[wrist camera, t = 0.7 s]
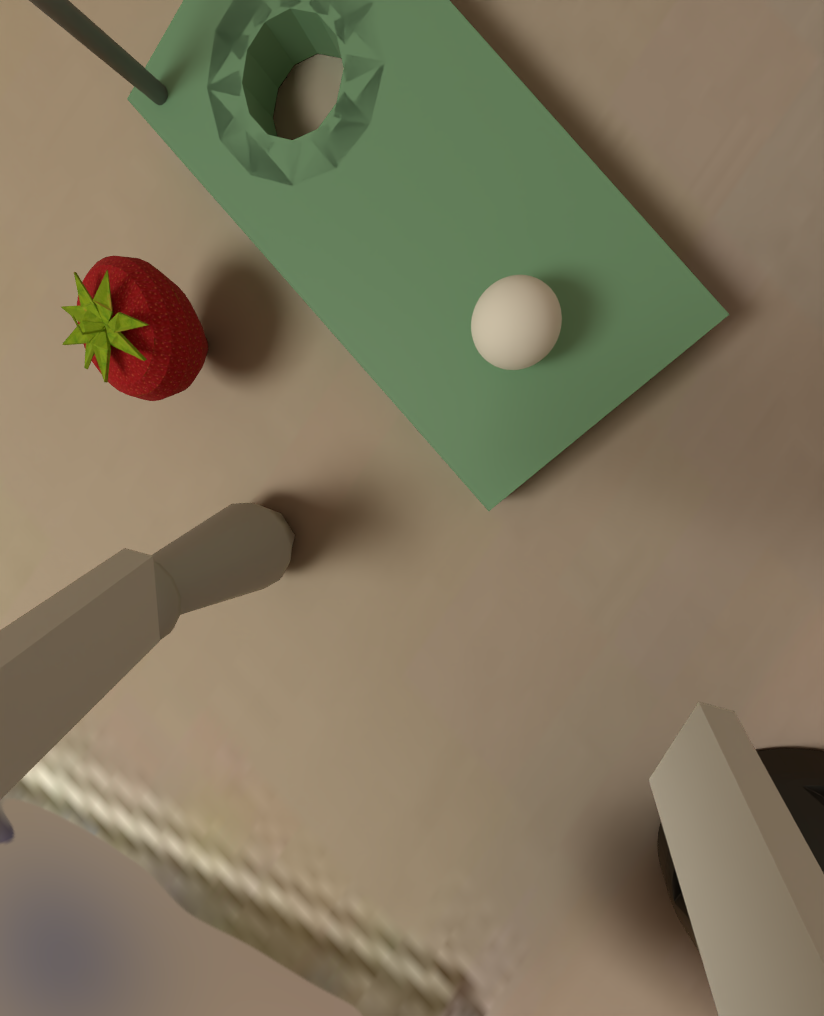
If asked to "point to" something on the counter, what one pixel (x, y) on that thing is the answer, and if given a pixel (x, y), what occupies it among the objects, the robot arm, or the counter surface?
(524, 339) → the white ball
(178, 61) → the board
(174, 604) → the salt shaker
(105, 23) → the counter surface
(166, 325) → the strawberry
